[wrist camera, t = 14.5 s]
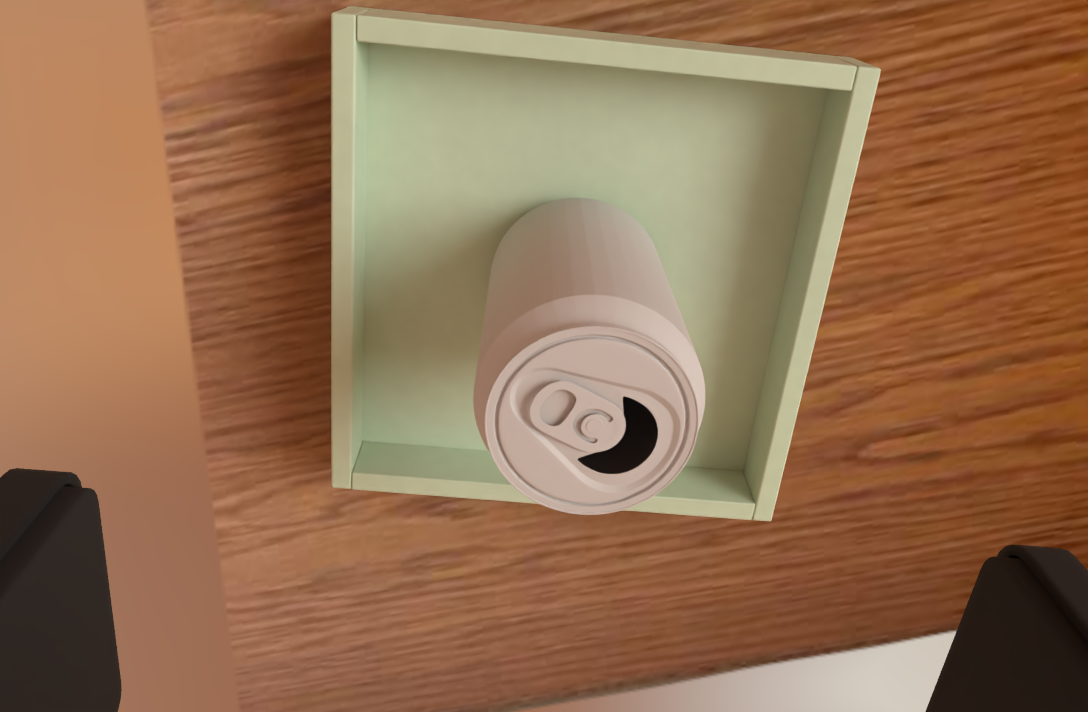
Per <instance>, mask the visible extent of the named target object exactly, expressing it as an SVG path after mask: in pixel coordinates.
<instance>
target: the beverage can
mask: <svg viewBox="0 0 1088 712" xmlns="http://www.w3.org/2000/svg"><path fill="white" fill-rule="evenodd" d="M473 405H474V414H475V420H476V424H477V427H478V430H479V433H480V436H481V438H482V440H483V442H484V444H485V446H486V447H487V449H488V451H489V452H490V454H491V456H492V458H493V460H494V462H495V464H496V466H497V468H498V469H499V471H500V472H501V473H502V475H503V476H504V477H505V478H506V479H507V481H508V482H509V483H510V484H511V485H512V486H513V487H514V488H516V489H517V490H518V491H519V492H520V493H522V494H523V495H525V496H526V497H528V498H529V499H531V500H533V501H534V502H536V503H538V504H540V505H543V506H545V507H548V508H551V509H554V510H557V511H561V512H566V513H571V514H580V515H598V514H607V513H613V512H618V511H622V510H625V509H628V508H630V507H633V506H635V505H637V504H639V503H642V502H644V501H646V500H648V499H650V498H652V497H653V496H655V495H656V494H658V493H659V492H660V491H662V490H663V489H664V488H665V487H667V486H668V485H669V484H670V483H671V482H672V481H673V480H674V479H675V478H676V477H677V475H678V474H679V473H680V472H681V470H682V469H683V467H684V466H685V464H686V463H687V461H688V459H689V457H690V455H691V453H692V451H693V448H694V446H695V443H696V439H697V434H698V430H699V428H700V425H701V422H702V418H703V413H704V408H705V382H704V377H703V372H702V368H701V366H700V363H699V360H698V358H697V355H696V352H695V350H694V347H693V345H692V342H691V339H690V337H689V334H688V331H687V329H686V326H685V324H684V321H683V318H682V316H681V313H680V311H679V308H678V305H677V303H676V300H675V298H674V295H673V292H672V290H671V287H670V285H669V282H668V279H667V277H666V274H665V271H664V269H663V266H662V264H661V261H660V258H659V256H658V253H657V251H656V248H655V246H654V244H653V242H652V240H651V238H650V237H649V235H648V233H647V232H646V231H645V229H644V228H643V227H642V226H641V225H640V224H639V223H638V222H637V221H636V220H635V219H634V218H633V217H631V216H630V215H629V214H627V213H626V212H625V211H623V210H621V209H619V208H618V207H615V206H613V205H611V204H608V203H606V202H603V201H599V200H594V199H588V198H567V199H560V200H556V201H552V202H549V203H546V204H543V205H541V206H539V207H537V208H535V209H533V210H531V211H530V212H528V213H527V214H525V215H524V216H522V217H521V218H520V219H519V220H518V221H517V222H515V223H514V224H513V225H512V226H511V228H510V229H509V230H508V231H507V233H506V234H505V235H504V237H503V238H502V240H501V242H500V244H499V246H498V248H497V250H496V252H495V255H494V258H493V262H492V266H491V273H490V280H489V287H488V294H487V301H486V308H485V315H484V322H483V328H482V335H481V342H480V349H479V356H478V363H477V370H476V377H475V384H474V394H473Z"/></svg>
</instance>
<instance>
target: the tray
mask: <svg viewBox="0 0 1088 712" xmlns="http://www.w3.org/2000/svg"><path fill="white" fill-rule="evenodd" d="M880 72H881V69H880V68H878V67H875V66H872V65H870V64H867V63H864V62H862V61H859V60H856V59H854V58H851V57H842V56H832V55H822V54H813V53H803V52H793V51H783V50H774V49H764V48H754V47H745V46H735V45H725V44H715V43H706V42H696V41H686V40H677V39H667V38H657V37H647V36H638V35H628V34H618V33H608V32H599V31H589V30H579V29H570V28H560V27H550V26H540V25H531V24H521V23H511V22H502V21H492V20H482V19H472V18H463V17H453V16H443V15H433V14H424V13H414V12H404V11H395V10H385V9H375V8H365V7H356V6H348V7H346V8H344V9H341V10H339V11H336V12H333V13H332V14H331V485H332V487H333V488H344V489H350V488H351V487H352V489H353V490H366V491H379V492H392V493H405V494H418V495H431V496H444V497H457V498H470V499H483V500H496V501H509V502H522V503H535V504H538V503H536V502H534V501H533V500H531V499H529V498H528V497H526V496H525V495H523V494H522V493H520V492H519V491H518V490H517V489H516V488H514V487H513V486H512V485H511V484H510V483H509V482H508V481H507V479H506V478H505V477H504V476H503V475H502V473H501V472H500V471H499V469H498V468H497V466H496V464H495V462H494V460H493V458H492V456H491V454H490V452H489V451H488V449H487V447H486V446H485V444H484V442H483V440H482V438H481V436H480V433H479V430H478V427H477V424H476V420H475V414H474V405H473V394H474V384H475V377H476V370H477V363H478V356H479V349H480V342H481V335H482V328H483V322H484V315H485V308H486V301H487V294H488V287H489V280H490V273H491V266H492V262H493V258H494V255H495V252H496V250H497V248H498V246H499V244H500V242H501V240H502V238H503V237H504V235H505V234H506V233H507V231H508V230H509V229H510V228H511V226H512V225H513V224H514V223H515V222H517V221H518V220H519V219H520V218H521V217H522V216H524V215H525V214H527V213H528V212H530V211H531V210H533V209H535V208H537V207H539V206H541V205H543V204H546V203H549V202H552V201H556V200H560V199H567V198H588V199H594V200H599V201H603V202H606V203H608V204H611V205H613V206H615V207H618V208H619V209H621V210H623V211H625V212H626V213H627V214H629V215H630V216H631V217H633V218H634V219H635V220H636V221H637V222H638V223H639V224H640V225H641V226H642V227H643V228H644V229H645V231H646V232H647V233H648V235H649V237H650V238H651V240H652V242H653V244H654V246H655V248H656V251H657V253H658V256H659V258H660V261H661V264H662V266H663V269H664V271H665V274H666V277H667V279H668V282H669V285H670V287H671V290H672V292H673V295H674V298H675V300H676V303H677V305H678V308H679V311H680V313H681V316H682V318H683V321H684V324H685V326H686V329H687V331H688V334H689V337H690V339H691V342H692V345H693V347H694V350H695V352H696V355H697V358H698V360H699V363H700V366H701V368H702V372H703V377H704V382H705V408H704V413H703V418H702V422H701V425H700V428H699V430H698V434H697V439H696V443H695V446H694V448H693V451H692V453H691V455H690V457H689V459H688V461H687V463H686V464H685V466H684V467H683V469H682V470H681V472H680V473H679V474H678V475H677V477H676V478H675V479H674V480H673V481H672V482H671V483H670V484H669V485H668V486H667V487H665V488H664V489H663V490H662V491H660V492H659V493H658V494H656V495H655V496H653V497H652V498H650V499H648V500H646V501H644V502H642V503H639V504H637V505H635V506H633V507H630V508H628V509H625V510H626V511H639V512H652V513H665V514H678V515H691V516H704V517H717V518H730V519H743V520H752V519H753V520H759V521H771V520H772V516H773V511H774V507H775V503H776V499H777V495H778V491H779V487H780V483H781V479H782V474H783V470H784V466H785V462H786V458H787V454H788V450H789V446H790V442H791V438H792V433H793V429H794V425H795V421H796V417H797V413H798V409H799V405H800V401H801V396H802V392H803V388H804V384H805V380H806V376H807V372H808V368H809V364H810V359H811V355H812V351H813V347H814V343H815V339H816V335H817V331H818V327H819V322H820V318H821V314H822V310H823V306H824V302H825V298H826V294H827V290H828V286H829V281H830V277H831V273H832V269H833V265H834V261H835V257H836V253H837V249H838V244H839V240H840V236H841V232H842V228H843V224H844V220H845V216H846V212H847V207H848V203H849V199H850V195H851V191H852V187H853V183H854V179H855V175H856V170H857V166H858V162H859V158H860V154H861V150H862V146H863V142H864V138H865V133H866V129H867V125H868V121H869V117H870V113H871V109H872V105H873V101H874V97H875V92H876V88H877V84H878V80H879V76H880Z"/></svg>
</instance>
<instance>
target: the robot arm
mask: <svg viewBox="0 0 1088 712" xmlns="http://www.w3.org/2000/svg"><path fill="white" fill-rule="evenodd" d="M120 699H121V679H120V670H119V662H118V654H117V646H116V638H115V630H114V622H113V614H112V606H111V598H110V590H109V582H108V574H107V566H106V558H105V550H104V542H103V534H102V526H101V518H100V510H99V502H98V498H97V494H96V493H95V491H94V490H92V489H90V488H82V486H81V482H80V480H79V478H78V477H77V475H75V474H73V473H71V472H57V471H45V470H31V469H19V468H16V469H11V470H9V471H8V472H6V473H5V474H4V475H3V476H2V477H1V478H0V712H118V708H119V704H120ZM926 712H1088V571H1087V569H1086V568H1085V567H1084V566H1083V565H1082V564H1081V563H1080V561H1079V560H1078V559H1077V558H1076V557H1075V556H1074V555H1073V554H1072V553H1070V552H1069V551H1068V550H1064V549H1061V548H1050V547H1037V546H1024V545H1009V546H1006V547H1004V548H1003V549H1002V550H1001V551H1000V552H999V554H998V556H997V557H991V558H989V559H988V560H986V561H985V562H984V564H983V566H982V568H981V570H980V573H979V575H978V578H977V581H976V583H975V586H974V588H973V591H972V594H971V596H970V599H969V601H968V604H967V606H966V609H965V612H964V614H963V617H962V619H961V622H960V624H959V627H958V630H957V632H956V635H955V637H954V640H953V642H952V645H951V648H950V650H949V653H948V655H947V658H946V660H945V663H944V666H943V668H942V671H941V673H940V676H939V679H938V681H937V684H936V686H935V689H934V691H933V694H932V697H931V699H930V702H929V704H928V707H927V710H926Z"/></svg>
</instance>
